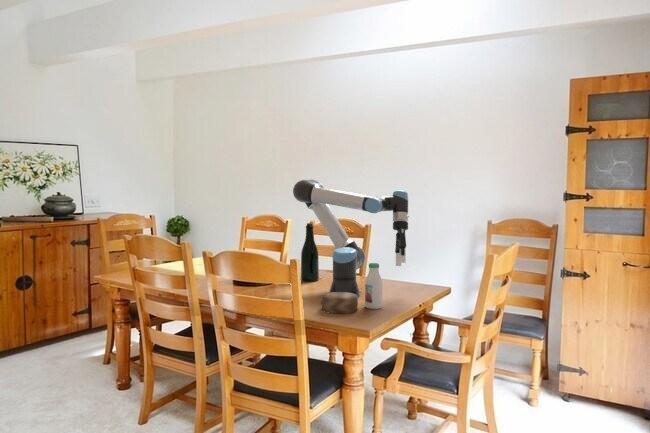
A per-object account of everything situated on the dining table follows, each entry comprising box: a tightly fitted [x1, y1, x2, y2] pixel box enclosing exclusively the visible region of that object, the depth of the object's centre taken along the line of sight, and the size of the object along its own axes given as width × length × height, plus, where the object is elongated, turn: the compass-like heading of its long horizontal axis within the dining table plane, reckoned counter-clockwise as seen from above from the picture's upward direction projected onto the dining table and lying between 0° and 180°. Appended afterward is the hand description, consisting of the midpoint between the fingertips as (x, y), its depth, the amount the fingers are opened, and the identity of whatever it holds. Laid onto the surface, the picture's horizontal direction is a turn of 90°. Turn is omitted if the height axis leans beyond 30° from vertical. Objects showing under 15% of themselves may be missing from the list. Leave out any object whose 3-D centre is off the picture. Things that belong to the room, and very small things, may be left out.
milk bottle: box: [364, 262, 383, 310], centre depth 225 cm, size 8×8×20 cm
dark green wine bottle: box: [300, 222, 320, 282], centre depth 285 cm, size 10×10×33 cm
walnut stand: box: [321, 292, 359, 315], centre depth 222 cm, size 16×16×6 cm
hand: (400, 264), depth 242 cm, fingers open, 13 cm apart
